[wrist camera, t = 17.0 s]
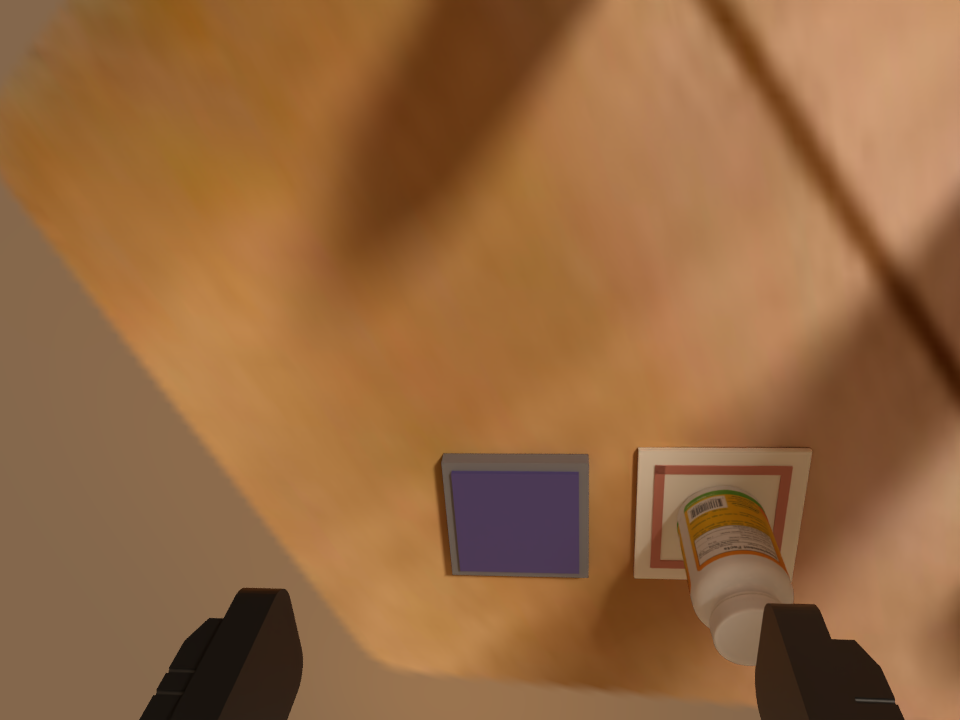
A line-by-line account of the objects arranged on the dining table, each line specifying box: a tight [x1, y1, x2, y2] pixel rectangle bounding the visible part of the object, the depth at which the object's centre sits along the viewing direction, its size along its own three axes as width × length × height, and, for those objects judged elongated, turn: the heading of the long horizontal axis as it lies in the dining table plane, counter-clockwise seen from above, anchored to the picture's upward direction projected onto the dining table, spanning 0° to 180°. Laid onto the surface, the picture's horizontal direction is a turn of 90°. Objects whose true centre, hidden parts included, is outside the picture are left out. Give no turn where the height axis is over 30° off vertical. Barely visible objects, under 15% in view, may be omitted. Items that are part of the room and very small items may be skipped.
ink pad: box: [441, 454, 589, 578], centre depth 49 cm, size 9×9×1 cm
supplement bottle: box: [677, 486, 794, 666], centre depth 43 cm, size 5×5×10 cm
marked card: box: [634, 448, 812, 582], centre depth 48 cm, size 10×10×1 cm
